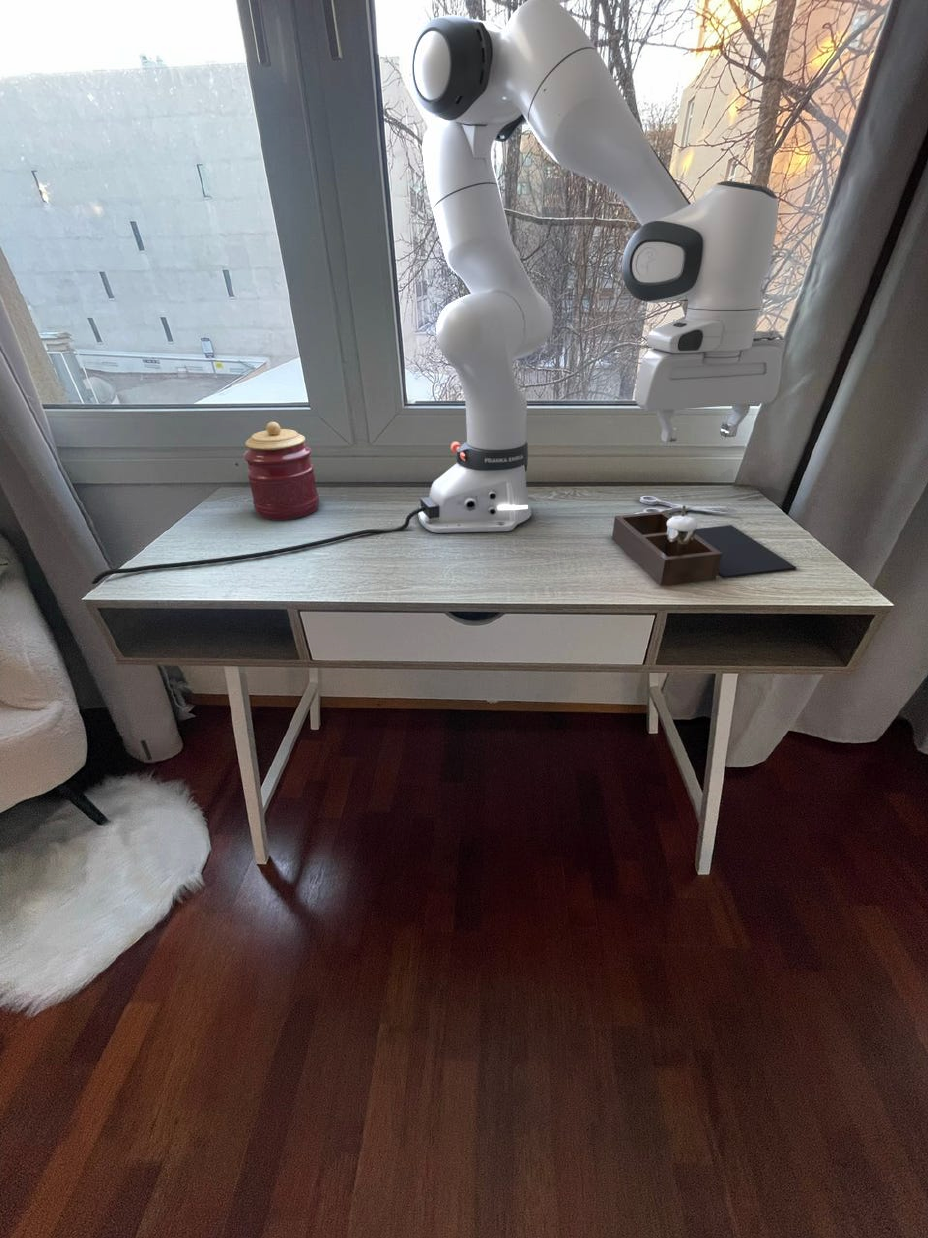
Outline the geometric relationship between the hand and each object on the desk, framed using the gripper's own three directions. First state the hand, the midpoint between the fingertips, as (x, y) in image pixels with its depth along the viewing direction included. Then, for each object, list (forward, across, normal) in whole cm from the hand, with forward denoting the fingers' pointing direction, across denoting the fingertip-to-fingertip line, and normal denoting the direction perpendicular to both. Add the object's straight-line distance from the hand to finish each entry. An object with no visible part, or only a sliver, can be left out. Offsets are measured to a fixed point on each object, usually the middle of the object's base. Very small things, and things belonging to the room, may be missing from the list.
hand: (698, 438), depth 85 cm
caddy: (+21, 0, -4) cm, 22 cm away
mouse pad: (+21, -12, -4) cm, 25 cm away
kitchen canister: (+21, +63, -44) cm, 80 cm away
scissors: (+21, -15, -23) cm, 34 cm away
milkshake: (+21, 0, 0) cm, 21 cm away
